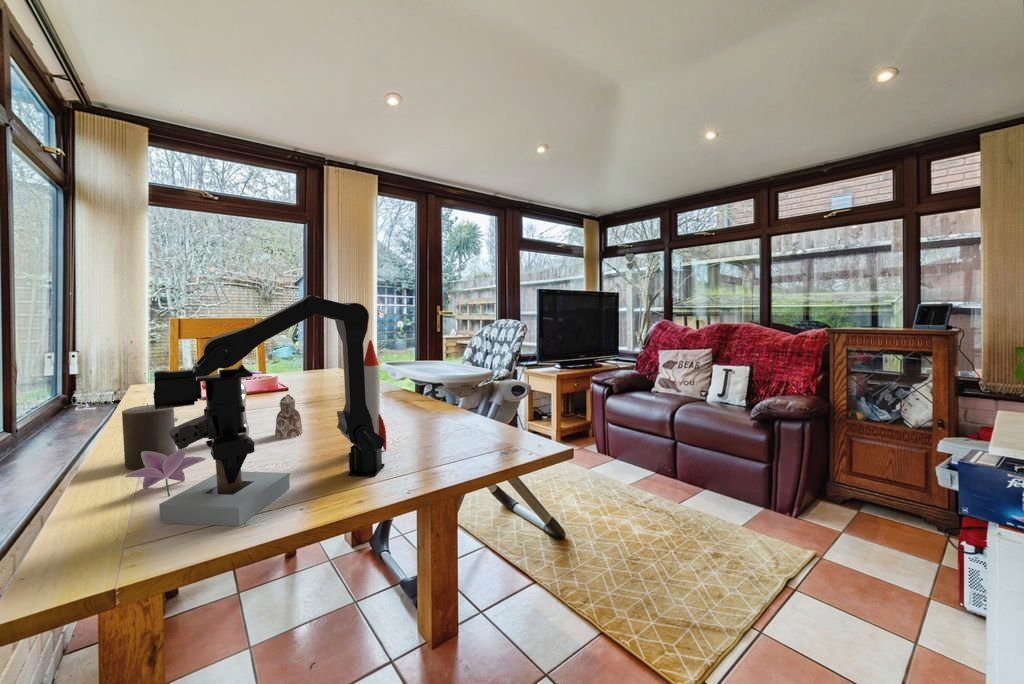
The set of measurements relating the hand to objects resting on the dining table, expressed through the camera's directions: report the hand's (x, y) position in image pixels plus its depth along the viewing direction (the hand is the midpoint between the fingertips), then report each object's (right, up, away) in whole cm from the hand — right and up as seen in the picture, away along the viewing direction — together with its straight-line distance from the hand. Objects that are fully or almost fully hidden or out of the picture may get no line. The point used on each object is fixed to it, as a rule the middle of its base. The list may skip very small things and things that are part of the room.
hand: (229, 479), depth 82 cm
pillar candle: (-34, -3, +22) cm, 40 cm away
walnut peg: (0, -3, 0) cm, 2 cm away
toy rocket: (+18, -3, +31) cm, 36 cm away
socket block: (0, -5, 0) cm, 5 cm away
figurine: (-11, -1, +43) cm, 45 cm away
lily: (-18, -5, +7) cm, 20 cm away
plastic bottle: (-24, -2, +38) cm, 45 cm away
